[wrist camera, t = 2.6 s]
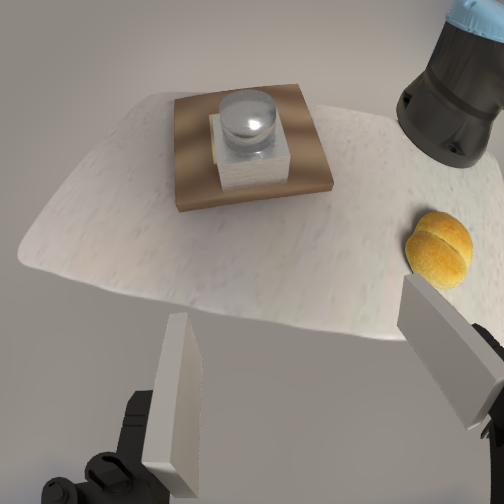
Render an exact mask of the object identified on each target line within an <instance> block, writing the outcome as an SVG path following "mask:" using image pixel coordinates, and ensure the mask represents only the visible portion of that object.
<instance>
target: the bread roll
mask: <svg viewBox="0 0 504 504" xmlns="http://www.w3.org/2000/svg"><path fill="white" fill-rule="evenodd" d="M472 249H473V245H472V240H471V237H470V235H469V233H468V231H467V229H466V228H465V227H464V226H463V225H462V224H461V223H460V222H459V221H458V220H457V219H455V218H454V217H452V216H451V215H450V214H447V213H445V212H436V211H434V212H429V213H428V214H426V215H424V216H423V217H422V218H421V219H420V220H419V222H418V223H417V226H416V228H415V231H414V233H413V235H411V236H410V237H409V238H408V240H407V242H406V246H405V252H406V256H407V259H408V262H409V264H410V267H411V269H412V271H413V273H419V274H420V275H421V276H422V277H424V278H425V279H426V280H427V281H428V282H429V283H430V284H431V285H432V286H433V287H434V288H435V289H436V290H447V289H450V288H452V287H455V286H457V285H458V284H460V283H461V282H462V281H463V280H464V278H465V277H466V274H467V271H468V268H469V265H470V263H471V259H472V253H473V252H472Z"/></svg>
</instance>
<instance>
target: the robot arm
mask: <svg viewBox="0 0 504 504" xmlns="http://www.w3.org/2000/svg"><path fill="white" fill-rule="evenodd" d="M445 19H446V22H445V24H444V27H443V29H442V32H441V34H440V37H439V39H438V41H437V44H436V46H435V49H434V51H433V53H432V56H431V58H430V60H429V63H428V65H427V67H426V69H425V71H424V72H423V73H422V74H421V75H420V76H418V77H417V78H416V79H415V80H414V81H413V82H412V83H411V84H410V85H409V86H408V87H407V88H406V89H405V90H404V91H403V93H402V94H401V97H400V99H399V101H398V104H397V109H396V110H397V111H396V112H397V117H398V120H399V123H400V125H401V127H402V128H403V130H404V131H405V133H406V134H407V136H408V137H409V138H410V139H411V140H412V141H413V142H414V144H416V145H417V146H418V147H419V148H420V149H421V150H422V151H423V152H425V153H426V154H427V155H429V156H430V157H432V158H433V159H435V160H437V161H439V162H441V163H443V164H445V165H448V166H451V167H455V168H469V167H471V166H473V165H475V164H476V163H477V162H478V160H479V159H480V158H481V157H482V155H483V154H484V152H485V150H486V147H487V143H488V140H489V137H490V133H491V129H492V125H493V122H494V120H495V118H496V117H497V115H498V114H499V112H500V111H501V110H502V109H503V110H504V5H503V4H501V3H498V2H497V1H494V0H454V2H453V3H452V6H451V8H450V10H449V12H448V13H447V14H446V16H445ZM397 327H398V328H399V329H400V331H401V332H402V334H403V335H404V336H405V338H406V339H407V341H408V342H409V343H410V345H411V346H412V348H413V349H414V351H415V352H416V354H417V355H418V357H419V358H420V359H421V361H422V362H423V364H424V365H425V367H426V368H427V370H428V371H429V373H430V374H431V376H432V377H433V379H434V380H435V382H436V383H437V385H438V386H439V388H440V390H441V391H442V392H443V394H444V396H445V397H446V399H447V400H448V402H449V404H450V405H451V407H452V408H453V410H454V411H455V413H456V415H457V416H458V418H459V420H460V421H461V423H462V425H463V426H464V428H465V430H466V431H468V430H469V429H471V428H473V427H475V426H477V425H479V424H480V423H482V421H483V420H484V418H485V417H486V415H487V414H489V415H490V417H491V420H490V421H489V423H488V424H487V426H486V427H485V428H484V430H483V431H482V433H481V439H483V438H484V436H485V435H486V434H487V432H488V431H489V434H488V435H487V437H486V438H489V441H490V458H491V499H490V501H491V502H490V504H504V348H503V347H502V346H500V343H499V342H498V341H497V340H496V339H494V337H493V336H492V335H491V334H490V333H489V332H488V331H487V330H486V329H485V328H483V327H482V326H480V325H478V324H476V323H475V324H472V325H470V324H469V323H468V322H467V320H466V319H465V318H464V317H463V316H462V315H461V314H460V313H459V312H458V311H457V310H456V309H455V308H454V307H453V306H452V305H451V304H450V303H449V302H448V301H447V300H446V299H445V298H444V297H443V296H442V295H441V294H440V293H439V292H438V291H437V290H436V289H435V288H434V287H433V286H432V285H431V284H430V283H429V282H428V281H427V280H426V279H425V278H424V277H422V276H421V275H420V274H419V273H414V274H410V275H405V276H404V282H403V289H402V296H401V303H400V310H399V316H398V322H397ZM202 365H203V360H202V357H201V354H200V351H199V347H198V344H197V341H196V338H195V334H194V331H193V327H192V324H191V321H190V317H189V314H188V312H183V313H175V314H170V315H169V320H168V323H167V328H166V332H165V337H164V341H163V346H162V350H161V355H160V360H159V365H158V370H157V375H156V380H155V385H154V390H148V391H135V393H134V394H133V396H132V397H131V398H130V400H129V401H128V404H127V407H126V411H125V417H124V420H123V427H122V428H121V433H120V437H119V442H118V446H117V451H116V453H114V452H103V453H99V454H98V455H96V456H94V457H93V458H92V459H91V460H90V461H89V462H88V463H87V465H86V468H85V479H86V480H87V481H89V482H84V483H78V484H74V483H72V482H71V481H70V480H68V479H66V478H63V477H57V478H52V479H51V480H50V481H48V482H47V483H46V484H45V486H44V487H43V491H42V498H41V504H169V498H170V493H171V494H172V495H173V496H174V497H175V498H199V443H200V441H199V440H200V411H201V387H202V386H201V385H202V367H203V366H202Z"/></svg>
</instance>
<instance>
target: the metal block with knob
mask: <svg viewBox="0 0 504 504" xmlns="http://www.w3.org/2000/svg"><path fill="white" fill-rule="evenodd" d="M212 121H213V130H214V139H215V148H216V157H217V166H218V171H219V175H220V180H221V185H222V190H223V192H226V191H232V190H239V189H246V188H253V187H260V186H268V185H276V184H284V183H287V180H288V172H289V164H290V152H289V149H288V145H287V141H286V138H285V134H284V131H283V127H282V124H281V121H280V117H279V114H278V111H277V107H276V103H275V101H274V99H273V98H272V97H271V96H270V95H268V94H267V93H265V92H262V91H259V90H253V89H244V90H239V91H235V92H233V93H230V94H229V95H227V96H226V97H225V98H224V99H223V100H222V101H221V103H220V105H219V114H216V115H212Z"/></svg>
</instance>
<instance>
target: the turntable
mask: <svg viewBox="0 0 504 504" xmlns="http://www.w3.org/2000/svg"><path fill="white" fill-rule="evenodd" d="M245 89H253V90H259V91H262V92H265V93H267V94H268V95H270V96H271V97H272V98H273V99H274V101H275V103H276V107H277V111H278V114H279V117H280V121H281V124H282V127H283V131H284V134H285V138H286V141H287V145H288V149H289V152H290V164H289V172H288V180H287V183H284V184H276V185H268V186H260V187H253V188H246V189H239V190H232V191H226V192H223V190H222V185H221V180H220V175H219V171H218V166H217V157H216V148H215V139H214V130H213V121H212V115H216V114H219V105H220V103H221V101H222V100H223V99H224V98H225V97H226V96H227V95H229V94H230V93H233V92H235V91H239V90H244V89H236V90H229V91H222V92H215V93H209V94H203V95H197V96H191V97H186V98H181V99H176V100H175V119H174V153H175V197H176V206H177V208H178V210H179V212H184V211H190V210H196V209H202V208H209V207H215V206H221V205H228V204H235V203H241V202H248V201H255V200H262V199H270V198H277V197H285V196H293V195H301V194H309V193H317V192H326V191H331V190H332V187H333V185H334V181H333V178H332V174H331V171H330V168H329V165H328V163H327V160H326V157H325V154H324V151H323V148H322V145H321V142H320V140H319V137H318V134H317V131H316V129H315V126H314V123H313V121H312V118H311V115H310V113H309V110H308V108H307V105H306V103H305V100H304V97H303V95H302V93H301V90H300V88H299V85H298V84H288V85H275V86H263V87H254V88H245Z"/></svg>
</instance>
